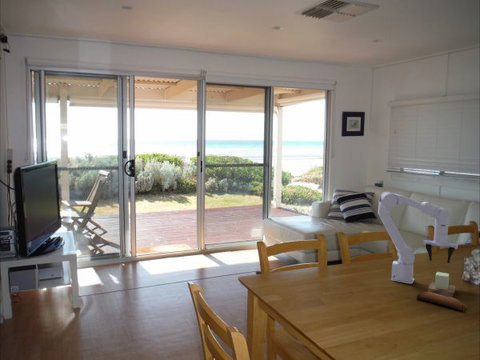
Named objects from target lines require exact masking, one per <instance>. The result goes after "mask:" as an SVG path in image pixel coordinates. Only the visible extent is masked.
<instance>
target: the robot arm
mask: <svg viewBox="0 0 480 360" xmlns="http://www.w3.org/2000/svg"><path fill="white" fill-rule="evenodd" d="M403 204H404V205H406V206H408V207H412V208H414V209H418V212H419V213H420V214H423V215H425V216H427V217H428V216H429V217H431V218H434V229H433V231H434V232H433V240H428V239H427V240H425V239H424V240H423V245H424V246H425V249H426V251H427V255H428V257H429V258H428V259H429V261H430V262H431V261H432V260H433V246H435V247H442V248H447V264H450V262H451V261H450V260H451V257H452V255H453V253H454V252H455V251H456V250H458V248H459V247H458V243H452V242H448V236H449V235H448V233H449V220H450V219H451V213H450V211H449V210H448V209H445V208H443V207H442V206H440V205H435V204H432V203H431V201H423V202H420V201H416V200H415V199H412V198H410V197H407V196H404V195H402V194H399V193H395V192H391V191H383V192H381V194H380V196H379V198H378V207H377V208H378V209H377V215H378V216H379V218H380V220H381V222H382V224H383V226H384V228H385V229H386V232H387V233H388V235H389V237H390V239H391V240H392V243H393V244H394V247H395V249H396V254H397V257H398V259H397V260H393V261H392V264H391V278H390V280H391V281H392V282H393V281H394V282H399V283H405V284H409V285H410V284H413V283H414V281H415V278H414V262H415V259H416V257H415V254H414V253H413V252H412V251H411V249H410V248H409V247H408V246H407V244H406V242H405V240H404V239H403V237H402V235H401V233H400V231H399V229H398V227H397V226H396V224H395V222H394V220H393V219H392V217H391V212H392V210H393V208H394V207H395V206H396V205H397V206H399V205H403Z"/></svg>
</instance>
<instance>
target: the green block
mask: <svg viewBox="0 0 480 360" xmlns="http://www.w3.org/2000/svg"><path fill="white" fill-rule="evenodd" d="M434 279H435V280H434V282H435V288H439V289H445V290H447V289H448V286H449V285H450V284H449V283H450V282H449V281H450V273H446V272H441V271H437V272H436V273H435V277H434Z"/></svg>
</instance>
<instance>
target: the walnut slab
mask: <svg viewBox="0 0 480 360" xmlns="http://www.w3.org/2000/svg"><path fill="white" fill-rule="evenodd" d="M427 292H432V293H436V294H439V295H444V296H446V297H452V298H454V295H455V293H456V286H455V285H451V284H449V286H448V289H447V290H445V289H439V288H435V281H431V282H430V284H429V285H428V287H427Z"/></svg>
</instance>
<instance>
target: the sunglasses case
mask: <svg viewBox="0 0 480 360" xmlns="http://www.w3.org/2000/svg"><path fill="white" fill-rule="evenodd" d="M416 300H419V301H423V302H424V301H425V302H430V303H434V304H438V305H441V306H444V307H448V308H451V309H454V310H455V309H456V310H458V311H461V312H464V310H466V309H467V307H468V306H467V305H466V304H464V303H462V301H460V300H458V299H457V298H456V297H455V298H454V297H449V296H444V295H439V294H436V293H432V292H428V291H419V292H418V293H417V295H416Z"/></svg>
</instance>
